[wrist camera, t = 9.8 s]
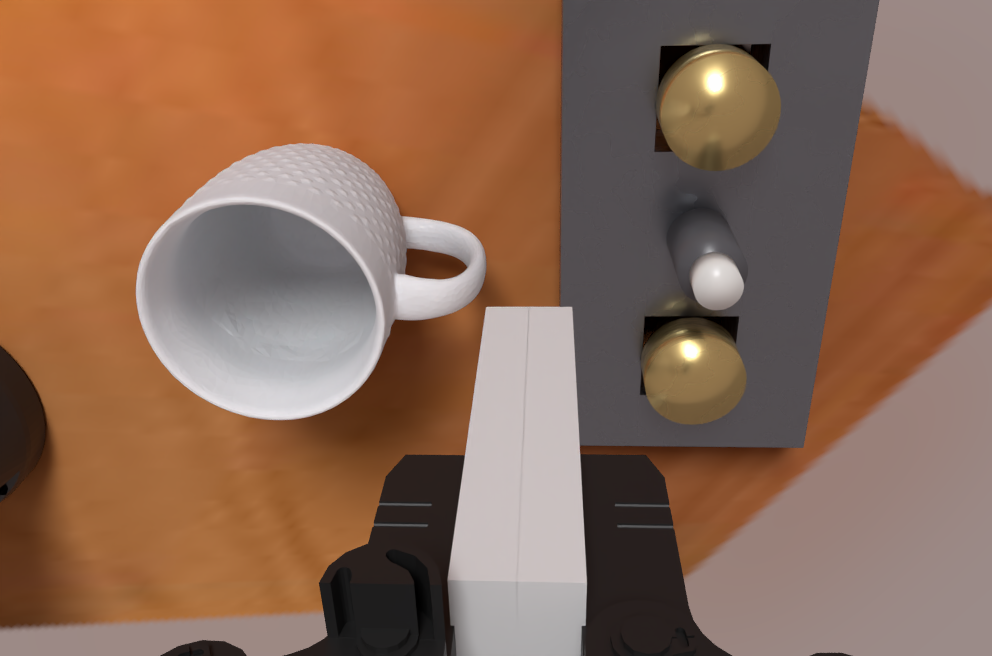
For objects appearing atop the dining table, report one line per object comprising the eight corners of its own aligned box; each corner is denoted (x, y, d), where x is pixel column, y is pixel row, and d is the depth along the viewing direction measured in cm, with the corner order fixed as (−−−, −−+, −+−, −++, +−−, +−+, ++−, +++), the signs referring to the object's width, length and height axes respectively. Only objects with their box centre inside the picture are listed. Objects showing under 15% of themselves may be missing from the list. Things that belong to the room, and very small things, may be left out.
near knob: (645, 135, 45) (658, 171, 40) (651, 31, 43) (665, 55, 37) (746, 133, 45) (773, 170, 40) (758, 29, 42) (788, 53, 37)
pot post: (665, 266, 45) (680, 319, 40) (668, 208, 44) (685, 255, 38) (727, 266, 45) (751, 320, 40) (733, 207, 43) (759, 255, 38)
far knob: (633, 366, 52) (642, 424, 46) (637, 287, 49) (647, 339, 44) (721, 366, 52) (741, 424, 46) (729, 287, 49) (751, 339, 44)
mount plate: (558, 407, 54) (559, 445, 51) (561, -43, 42) (563, -34, 39) (786, 409, 53) (803, 447, 50) (857, -50, 41) (886, -42, 38)
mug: (499, 125, 46) (481, 212, 35) (488, 309, 51) (470, 438, 40) (221, 106, 46) (113, 186, 35) (239, 291, 52) (150, 413, 40)
